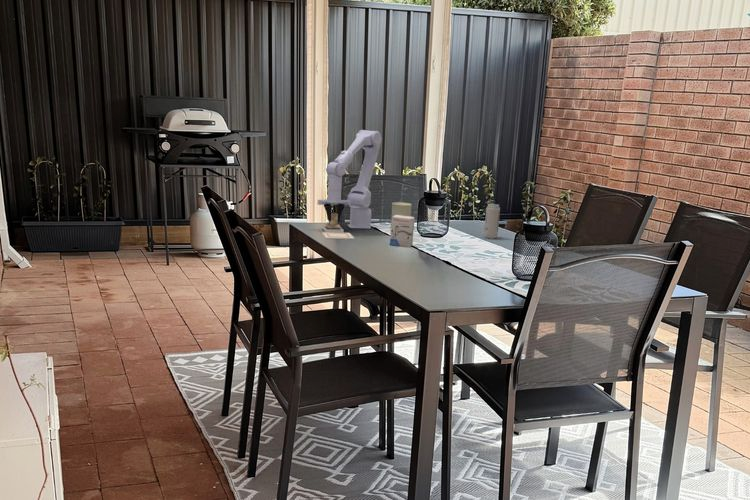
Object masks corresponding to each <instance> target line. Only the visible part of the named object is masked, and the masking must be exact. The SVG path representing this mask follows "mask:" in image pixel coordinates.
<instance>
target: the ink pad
mask: <svg viewBox="0 0 750 500" xmlns="http://www.w3.org/2000/svg"><path fill="white" fill-rule="evenodd" d="M322 230H323V232H332V233H345V232H344V229H343V228H342V227H341V226H340V229H328V228H326V226H322Z"/></svg>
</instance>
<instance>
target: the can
mask: <svg viewBox="0 0 750 500" xmlns="http://www.w3.org/2000/svg"><path fill="white" fill-rule="evenodd" d="M412 206H413V205H412V203H409V202H403V201H402V202H401V201H398V202H397V201H395V202H392V203H391V218H390V229H391V225H392V217H393V216H394V215H402V216H410V217H412Z"/></svg>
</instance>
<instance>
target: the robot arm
mask: <svg viewBox="0 0 750 500" xmlns="http://www.w3.org/2000/svg"><path fill="white" fill-rule="evenodd" d="M382 140H383V138H382V135H381V133H380V131H378V130H365V129H360V130H359V131H358V132H357V133H356V134H355V139H354V141H353V142H352V143H351V145H349V147H348V148H347V150H342V151H340V154H339V155H338V156H337V157H336V158H335V159H334V160H333V161H331V162H329V163H328V164H327V166H326V168H325V171H326V174H327V179H328V187H327V189H328V191H327V199H317V205H319V206H321V205H322V206H323V208H324V210H325V213H326V217H327V221H328V222H329V221H331V213H332V209H333V205H334V206H335V213H337V214H338V221H337V222H340V218H341V214H342V213H343V211H344V209H345V206H349V208H350V213H349V214H350V215H349V224H347V226H348V227H349V228H350V229H372V209H371V208H369V207H370V205H371V198H372V192H371V191H370V190H369V186H370V183H371V181H372V180H371V179H372V177H373V172H374V170H375V165H376V162H377V159H378V155H379V152H380V151H379V150H380V148H381V144H382ZM360 149H363V150H364V151H365V155H364V159H363V161H362V162H363V163H362V165H361V169H360V171H359V172H360V173H359V176H358V178H357V179H358V180H357V181H356V185H355V186H353V187H352V188H351V189H350V192H349V193H348V195H347V198H346V199H342V186H343V183H342V182H343V176H344V175H345V173H346V170H347V167H348V166H350V164H351V163H352V161H354V155H355V154H356V153H357V152H358V151H360Z"/></svg>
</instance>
